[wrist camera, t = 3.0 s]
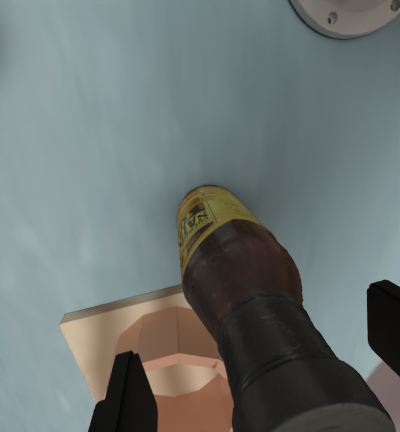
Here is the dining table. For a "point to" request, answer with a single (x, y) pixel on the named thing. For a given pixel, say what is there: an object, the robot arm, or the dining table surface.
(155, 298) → the birch board
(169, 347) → the jar collar
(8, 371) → the dining table surface
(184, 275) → the sauce bottle
